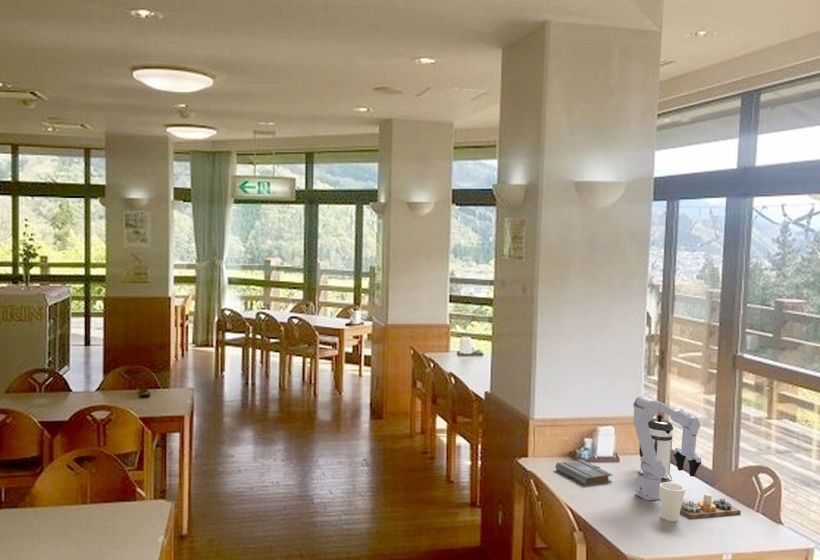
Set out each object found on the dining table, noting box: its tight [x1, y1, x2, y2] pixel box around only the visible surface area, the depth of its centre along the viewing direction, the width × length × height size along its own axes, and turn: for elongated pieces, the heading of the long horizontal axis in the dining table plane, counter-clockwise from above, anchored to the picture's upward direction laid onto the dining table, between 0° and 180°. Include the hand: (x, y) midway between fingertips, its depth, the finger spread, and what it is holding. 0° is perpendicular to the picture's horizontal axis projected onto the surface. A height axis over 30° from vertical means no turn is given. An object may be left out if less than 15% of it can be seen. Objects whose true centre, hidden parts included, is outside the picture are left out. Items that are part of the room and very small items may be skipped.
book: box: [555, 459, 613, 487], centre depth 322 cm, size 21×16×5 cm
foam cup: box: [659, 482, 686, 522], centre depth 277 cm, size 10×9×13 cm
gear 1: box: [682, 500, 701, 513], centre depth 284 cm, size 7×7×3 cm
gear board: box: [679, 501, 741, 520], centre depth 287 cm, size 26×10×3 cm, turn 109°
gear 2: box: [712, 498, 732, 510], centre depth 289 cm, size 7×7×3 cm
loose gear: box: [697, 493, 716, 511], centre depth 286 cm, size 7×7×6 cm
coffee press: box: [638, 414, 675, 480], centre depth 327 cm, size 17×16×30 cm
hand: (686, 473), depth 306 cm, fingers open, 7 cm apart
